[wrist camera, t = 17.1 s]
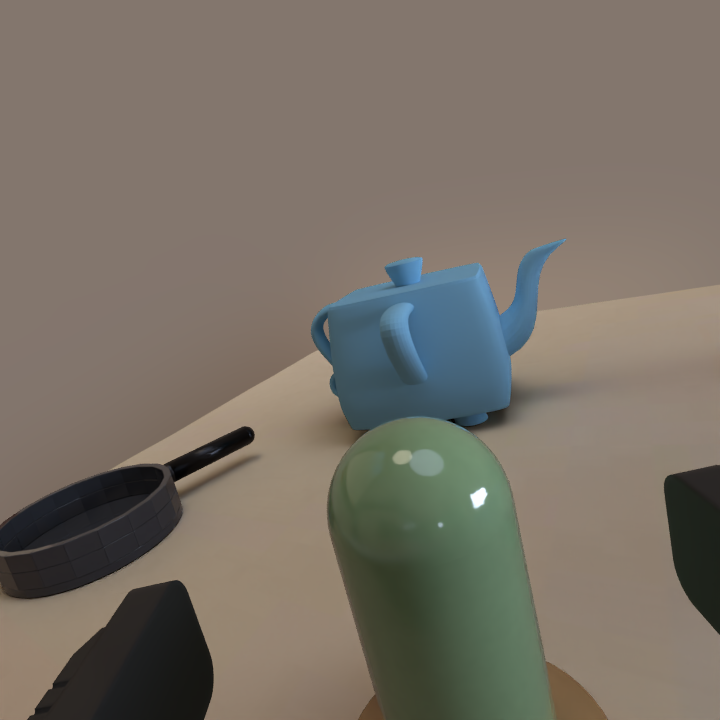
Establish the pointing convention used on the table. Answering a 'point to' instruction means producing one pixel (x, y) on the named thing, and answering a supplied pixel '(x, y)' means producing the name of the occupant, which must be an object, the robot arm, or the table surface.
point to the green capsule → (437, 575)
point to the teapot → (427, 343)
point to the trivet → (571, 700)
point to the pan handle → (210, 453)
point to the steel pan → (87, 530)
